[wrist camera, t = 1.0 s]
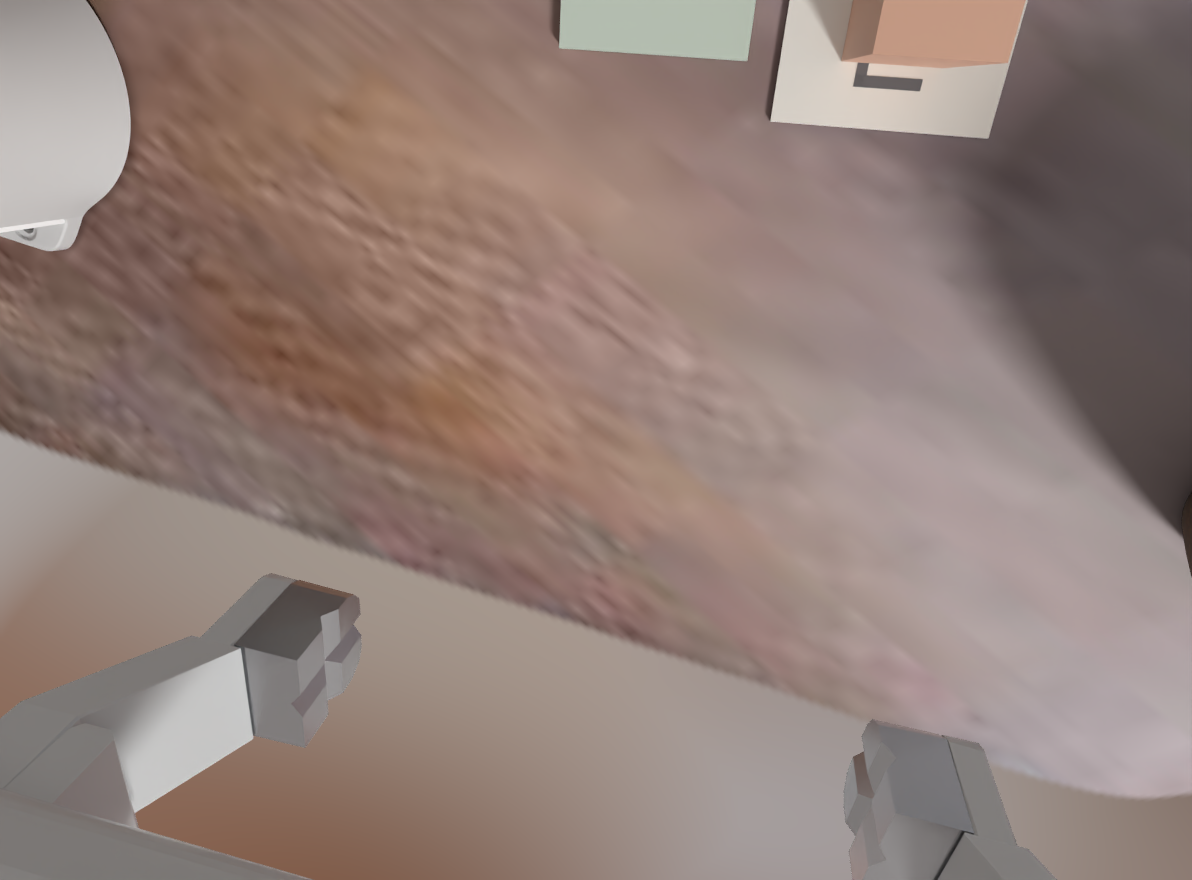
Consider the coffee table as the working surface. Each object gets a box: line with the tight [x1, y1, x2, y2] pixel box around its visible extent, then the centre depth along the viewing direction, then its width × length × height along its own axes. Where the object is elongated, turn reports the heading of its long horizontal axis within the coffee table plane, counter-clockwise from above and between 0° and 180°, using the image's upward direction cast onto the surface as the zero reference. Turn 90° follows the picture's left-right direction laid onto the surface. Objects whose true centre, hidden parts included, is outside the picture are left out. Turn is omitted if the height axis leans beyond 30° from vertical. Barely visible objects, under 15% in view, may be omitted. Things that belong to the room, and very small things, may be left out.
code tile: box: [770, 0, 1028, 139], centre depth 32 cm, size 10×10×1 cm
